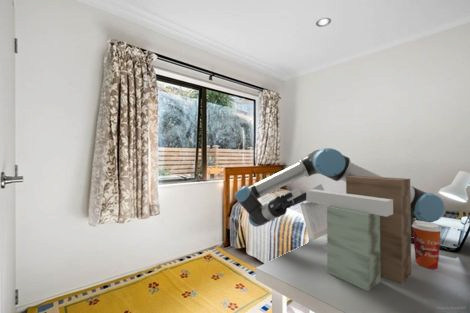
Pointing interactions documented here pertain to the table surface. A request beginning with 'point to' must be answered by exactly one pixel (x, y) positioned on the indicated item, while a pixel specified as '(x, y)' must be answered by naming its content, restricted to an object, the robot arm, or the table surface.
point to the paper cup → (426, 243)
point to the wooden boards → (371, 235)
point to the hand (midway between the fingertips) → (311, 188)
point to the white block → (351, 202)
